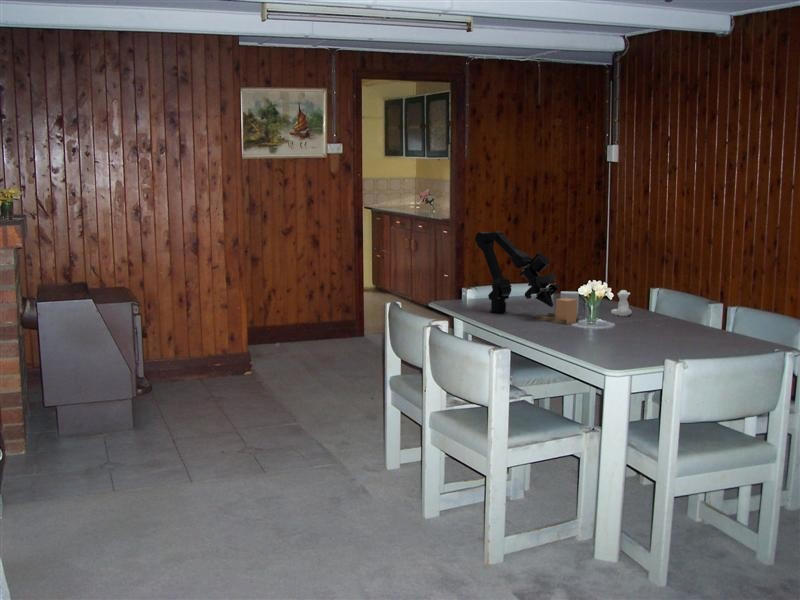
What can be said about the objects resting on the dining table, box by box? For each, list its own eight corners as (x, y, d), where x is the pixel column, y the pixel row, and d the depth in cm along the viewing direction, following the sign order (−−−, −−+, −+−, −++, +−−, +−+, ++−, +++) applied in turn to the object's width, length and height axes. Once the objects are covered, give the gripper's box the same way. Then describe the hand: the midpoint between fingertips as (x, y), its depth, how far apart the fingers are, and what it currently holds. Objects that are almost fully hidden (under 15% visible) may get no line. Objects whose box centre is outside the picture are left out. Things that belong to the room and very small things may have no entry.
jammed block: (555, 322, 381) (556, 299, 379) (565, 320, 385) (565, 297, 384) (566, 324, 376) (567, 301, 375) (576, 322, 381) (577, 299, 379)
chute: (535, 321, 387) (535, 315, 386) (549, 318, 393) (549, 312, 393) (568, 327, 374) (569, 321, 373) (582, 324, 380) (582, 318, 380)
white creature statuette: (631, 313, 409) (632, 288, 407) (635, 317, 401) (636, 291, 399) (610, 313, 409) (611, 288, 407) (614, 316, 401) (615, 291, 399)
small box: (576, 313, 408) (577, 291, 406) (578, 315, 402) (579, 293, 400) (559, 313, 408) (560, 291, 407) (560, 315, 403) (561, 292, 401)
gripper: (531, 268, 380) (550, 297, 374) (557, 265, 393) (576, 293, 387) (516, 284, 387) (534, 312, 381) (542, 280, 400) (560, 308, 394)
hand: (552, 306), depth 385 cm, fingers closed
